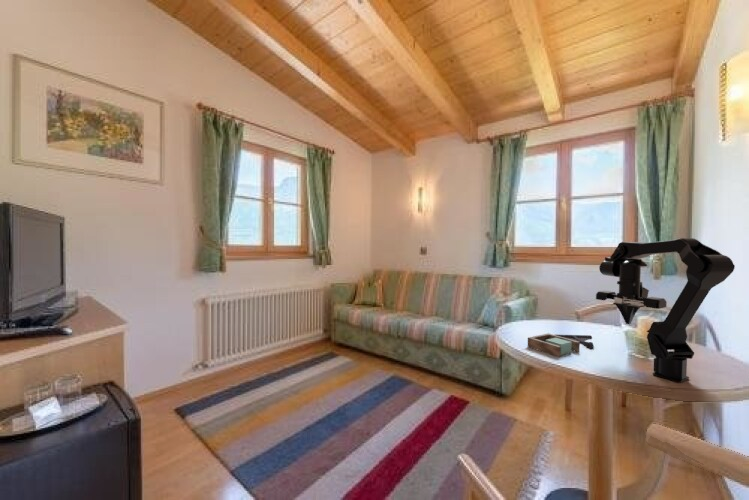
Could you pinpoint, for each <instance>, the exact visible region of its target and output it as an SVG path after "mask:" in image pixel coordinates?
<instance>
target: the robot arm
mask: <svg viewBox="0 0 749 500" xmlns="http://www.w3.org/2000/svg"><path fill="white" fill-rule="evenodd" d="M674 253H675V254H678V255H679V257H680V258H679V259H680V261H681V262H682V263H683V264H684V265H686V271H685V274H686V278H687V281H686V283H685V285H684V287H683V288H682V290H681V292H680V294H679V295H678V297H677V299H676V300H675V302H674V304H673V306H672V307H671V309H670V311H669V312H668V313H667V315H666V317H665V319H664V320H663V321H652V323H651V324H650V327H649V329H647V330H646V332H647V334H646V339H647V344H648V347H649V350H650V354H651V356H652V355H653V356H655V357H654V358H653V372H652V375H653V376H655V377H658V378H663V379H664V380H665V379H666V380H669V381H673V382H676V383H682V382H684V381H687V380H689V379H690V377H689V376H687V371H688V370H687V369H688V368H687V367H688V359H693V358H694V356H695V351H694V350H693V349H692V348H691V346H690V345H689V344H688V343H687V339H688V334H687V333H688V332H687V330H686V329H687V327H688V325H689V324H690V322H691V321H692V319H693V318H694V316H695V314H696V313H697V311H698V310H699V308H700V306H701V305H702V304H703V302H704V300H705V298H707V296H708V294H709V293H710V291H711V290H712V289H713V288H714V287H716V286H718V285H719V284H721V283H723V282H725V280H726V279H727V278H728V277H730V275H731V274H732V273H733V272H734V270H735V269H736V268H735V267H736V266H735V264H734V262H733V260H732V259H731V258H730V257H729V256H727V255H725V254H722V253H721V252H719V251H718V250H717V249H714V248H712V247H710V246H708V245H706V244H704V243H702V242H701V241H700V240H698V239H696V238H693V237H691V238H690V237H689V238H688V237H687V238H686V237H685V238H684V237H683V238H682V237H681V238H680V237H679V238H677V239H670V240H661V241H652V242H642V241H641V242H640V241H635V242H634V241H622V242H619V243H618V245H617V247H615V250H614V251H613V253H612V254H611V256H610V257H609V256H608V257H605V258H604V260H603V261H602V262H601V263H600V265H599V267H598V268H599V272H600V273H601V275H603V276H608V277H613V278H615V277H616V278H618V281H617V282H616V285H618V292H617V293H616V291H609V290H599V291H597V292H596V293H595V300H598V301H599V300H600V301H606V300H607V299H609V300H614V302H612V304H613V305H615V306H616V307H617V309H618V311H619V312H620V314H621V317H622V319H623V320H624V323H625V324H626V325H630V324H632V321H633V320H634V317H635V315H636V314H637V312H638V311H639V309H640V308H644V307H646V308H651V309H663V308H667V303H668V302H667V301H666V299H665V298H664V297H656V296H650V297H649V292H650V291H649V290H650V289H648V288H646V287H644V286H643V281H641V273H642V267H648V264H646V262H645V261H643V259H644V258H647V257H649V256H652V255H660V254H663V255H664V254H674ZM668 350H669V351H668ZM671 350H672V351H671Z"/></svg>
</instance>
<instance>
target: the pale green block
mask: <svg viewBox="0 0 749 500" xmlns="http://www.w3.org/2000/svg"><path fill="white" fill-rule="evenodd" d="M546 342H548V343H551V344H554V345H558V346H561V354H560V356H562V354H563V355H566V354H571V353H572V350H571V343H572V342H570V341H566V340H563V339H559V338H552V339H547V340H546ZM570 352H571V353H570Z"/></svg>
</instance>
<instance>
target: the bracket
mask: <svg viewBox="0 0 749 500" xmlns="http://www.w3.org/2000/svg"><path fill="white" fill-rule="evenodd" d="M555 335H556V336H560V337H564V338H567V339H571V340H575V341H578V342H580V344H581V345H583V346H585V347H586V348H587V349H590V350H591V349H595V346H594V343H593V342H591V341H587V340H592V339H593V337H592V335H590V334H589V335H585V334H584V335H583V334H580V335H579V334H555Z"/></svg>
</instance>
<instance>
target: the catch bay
mask: <svg viewBox="0 0 749 500" xmlns="http://www.w3.org/2000/svg"><path fill="white" fill-rule="evenodd" d="M556 335H557V334H551V333H549V332H548V333H543V334H538V335H533V336H530V337H527V347H528V346H529V347H528V348H530V347H532V348H531V349H533V348H535V349H534V350H536V349H538V350H537V351H539V350H540V351H539V352H542V351H543V353H545V352H546V353H545V354H548V353H549V354H548V355H551V354H552V355H551V356H554V355H555V357H557V356H558V357H557V358H560V357H561V355H560V354H561V346H558V345H554V344H551V343H548V342H546V340H547V339H552V338H559V339H563V340H566V341H570V342H572V343H571V351H573V352H576V353H577V352H580V347H581V346H580V344H581V343H580V342H578V341H575V340H571V339H572V338H571V339H567V338H564V337H560V336H556Z"/></svg>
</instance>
